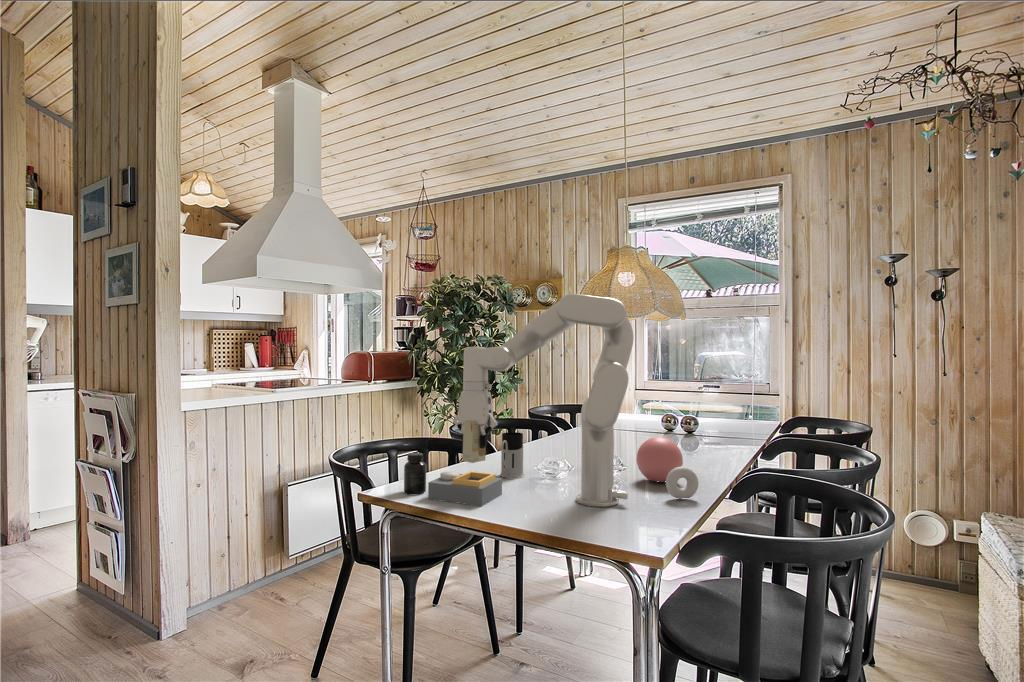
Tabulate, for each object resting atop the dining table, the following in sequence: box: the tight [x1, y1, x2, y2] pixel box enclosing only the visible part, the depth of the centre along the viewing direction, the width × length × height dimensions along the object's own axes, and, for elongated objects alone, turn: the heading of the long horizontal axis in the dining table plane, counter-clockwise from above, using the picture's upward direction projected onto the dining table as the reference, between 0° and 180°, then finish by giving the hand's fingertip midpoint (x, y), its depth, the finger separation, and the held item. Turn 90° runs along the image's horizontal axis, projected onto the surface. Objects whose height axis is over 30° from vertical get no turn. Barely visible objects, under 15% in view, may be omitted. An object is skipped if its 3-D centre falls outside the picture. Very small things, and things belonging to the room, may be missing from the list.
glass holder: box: [499, 431, 525, 479], centre depth 192 cm, size 9×14×15 cm, turn 159°
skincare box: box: [462, 421, 487, 464], centre depth 165 cm, size 6×4×12 cm
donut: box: [665, 465, 699, 499], centre depth 165 cm, size 10×4×10 cm, turn 94°
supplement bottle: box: [403, 452, 427, 495], centre depth 171 cm, size 7×7×12 cm
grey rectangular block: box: [427, 470, 503, 507], centre depth 166 cm, size 18×14×6 cm
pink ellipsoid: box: [636, 436, 684, 483], centre depth 189 cm, size 15×20×15 cm
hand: (474, 446), depth 165 cm, fingers closed on skincare box, 5 cm apart
